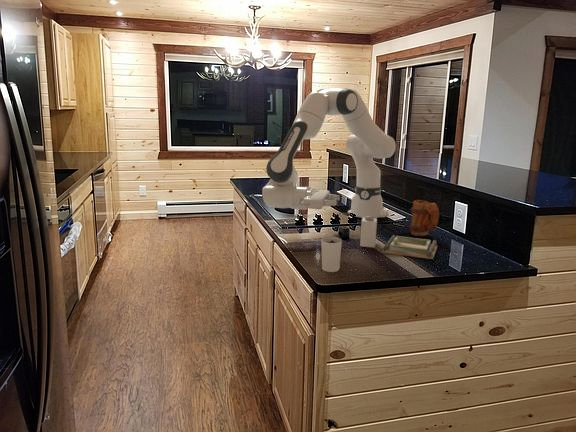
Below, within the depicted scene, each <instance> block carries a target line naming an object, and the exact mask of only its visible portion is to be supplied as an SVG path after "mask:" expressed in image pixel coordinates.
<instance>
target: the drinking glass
mask: <svg viewBox="0 0 576 432" xmlns="http://www.w3.org/2000/svg"><path fill="white" fill-rule="evenodd" d="M342 241H343V240H341V239H339V238H337V237H336V236H328V237H327V236H325V237H322V238H321V245H320V246H321V270H323V271H324V272H327V273H328V272H329V273H335V272H338V271H340V268H341V267H340V265H341V255H342V254H341V252H342V244H343V242H342Z"/></svg>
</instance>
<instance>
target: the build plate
mask: <svg viewBox="0 0 576 432" xmlns="http://www.w3.org/2000/svg"><path fill="white" fill-rule="evenodd" d="M337 229H338V231H337V232H338V233H335V234H332V236H333V237H336V238H337V237H338V238H341V239H342V241H343V240H346V241H353V240H356V239H355V238H354V237H352V236H350V228H349V227H347V226H346V225H342V226H338V228H337Z"/></svg>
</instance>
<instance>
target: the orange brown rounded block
mask: <svg viewBox="0 0 576 432" xmlns="http://www.w3.org/2000/svg"><path fill="white" fill-rule="evenodd" d="M409 211H410V212H411V222H410V224H409V225H408V230H410V234H411V235H412V236H414V237H425V236H428V235H429V231H431V230H434V229H435V228H436V227H437V226H438V224H439V219H440V210H439V208H438V205H437V204H436V202H429V201H427V200H423V199H416V200H413V204H412V207H410V209H409ZM429 218H430V219H429Z"/></svg>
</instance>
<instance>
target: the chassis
mask: <svg viewBox="0 0 576 432" xmlns="http://www.w3.org/2000/svg"><path fill="white" fill-rule="evenodd" d="M431 242H432V243H431ZM437 243H438V242H437V240H436V239H433V240H431V239H427V238H424V239H423V238H418V237H410V236H401V235H395V234H393V235H391V237H390V238H389V240H388V241H387V242H386V244H385V245H384V246H383V247H382V251H381V253H384V254H390V255H391V254H392V255H400V256H406V257H413V258H421V259H429V260H434V257H435V255H436V252H437V249H438V244H437Z"/></svg>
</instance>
